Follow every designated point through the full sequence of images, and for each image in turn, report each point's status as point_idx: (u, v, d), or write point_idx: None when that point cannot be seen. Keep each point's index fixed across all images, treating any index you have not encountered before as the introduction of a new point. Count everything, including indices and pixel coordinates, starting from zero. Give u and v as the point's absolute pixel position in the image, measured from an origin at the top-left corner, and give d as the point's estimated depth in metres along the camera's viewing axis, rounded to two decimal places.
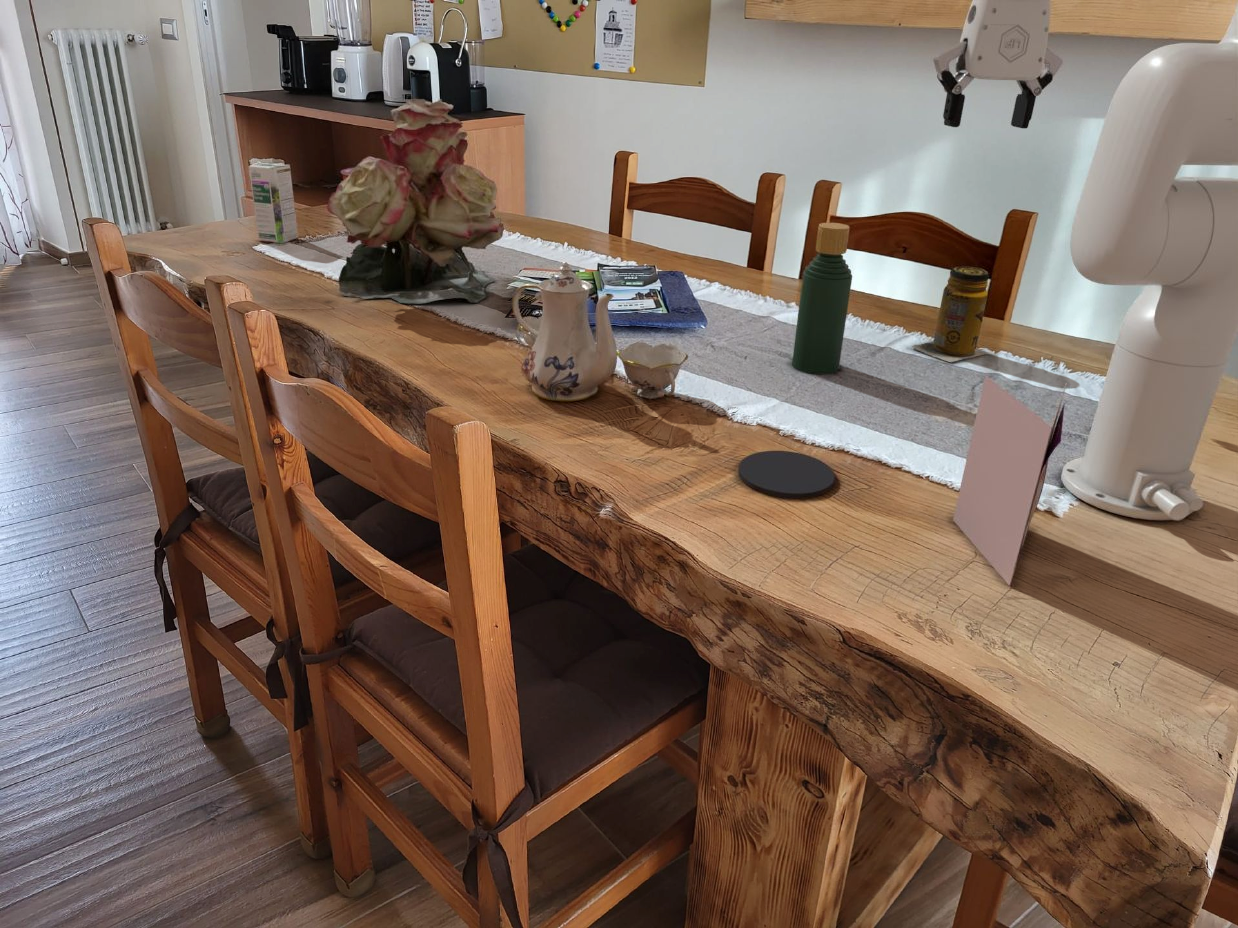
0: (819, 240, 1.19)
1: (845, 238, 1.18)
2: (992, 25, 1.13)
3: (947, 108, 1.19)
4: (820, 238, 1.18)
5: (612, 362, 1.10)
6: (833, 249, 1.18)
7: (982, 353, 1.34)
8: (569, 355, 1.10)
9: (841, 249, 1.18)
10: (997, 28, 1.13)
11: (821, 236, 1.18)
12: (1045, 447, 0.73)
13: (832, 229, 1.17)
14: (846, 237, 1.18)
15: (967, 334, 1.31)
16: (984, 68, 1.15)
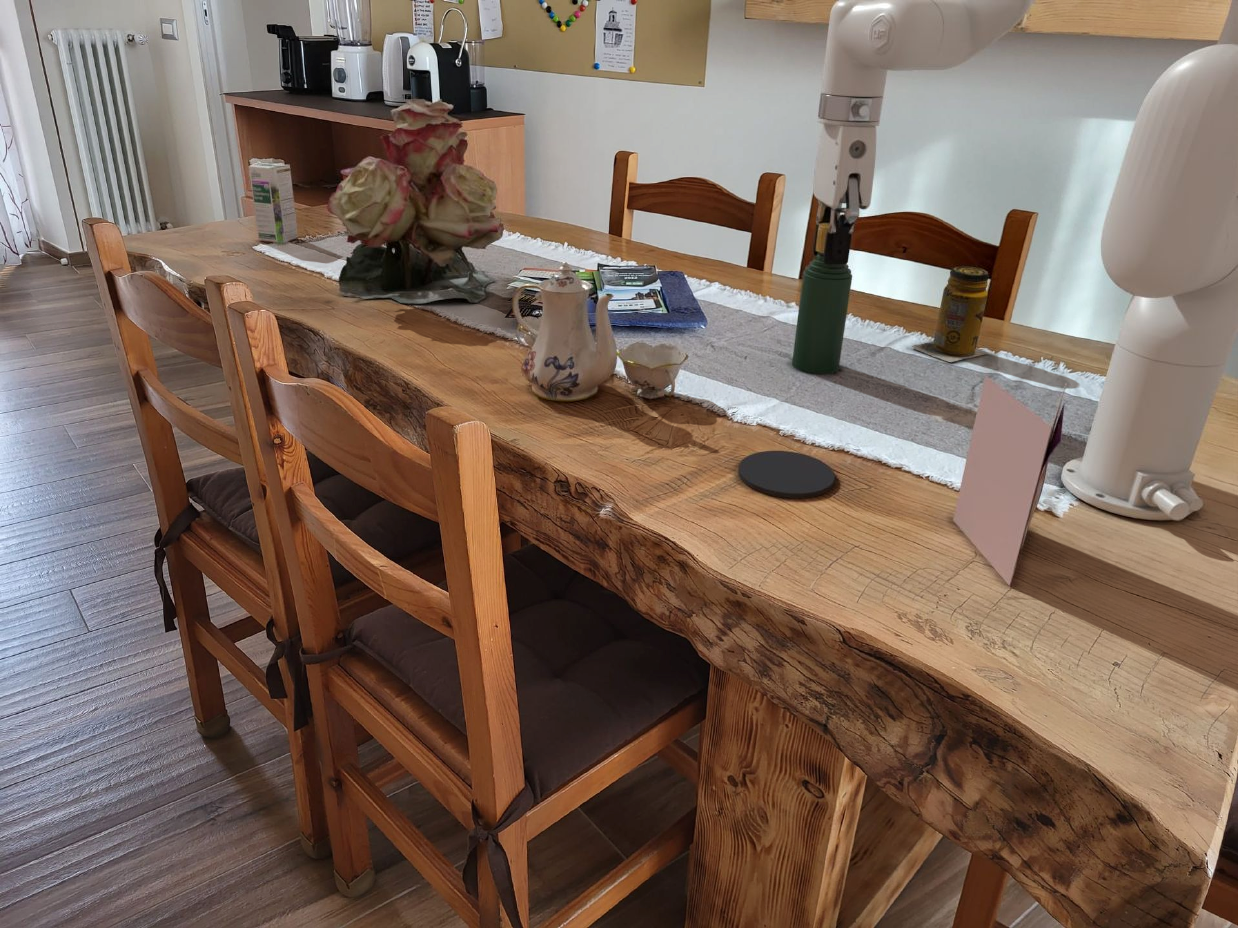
0: (819, 240, 1.19)
1: None
2: None
3: (839, 248, 1.16)
4: (820, 238, 1.18)
5: (612, 362, 1.10)
6: None
7: (982, 353, 1.34)
8: (569, 355, 1.10)
9: None
10: None
11: (821, 236, 1.18)
12: (1045, 447, 0.73)
13: None
14: None
15: (967, 334, 1.31)
16: None
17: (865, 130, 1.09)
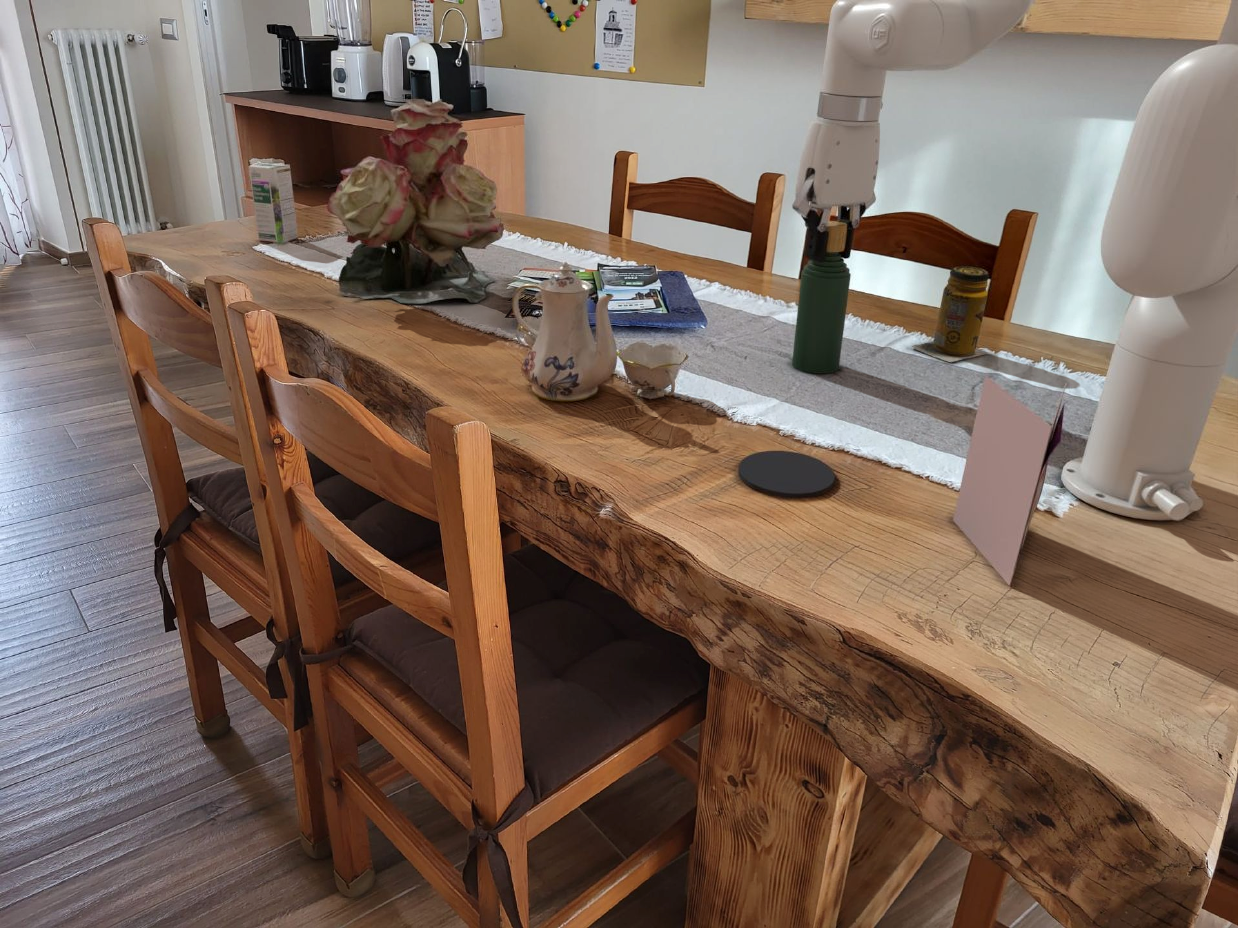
0: (842, 240, 1.18)
1: None
2: None
3: None
4: (844, 236, 1.18)
5: (612, 362, 1.10)
6: None
7: (982, 353, 1.34)
8: (569, 355, 1.10)
9: None
10: None
11: (845, 234, 1.18)
12: (1045, 447, 0.73)
13: (845, 224, 1.19)
14: None
15: (967, 334, 1.31)
16: None
17: None
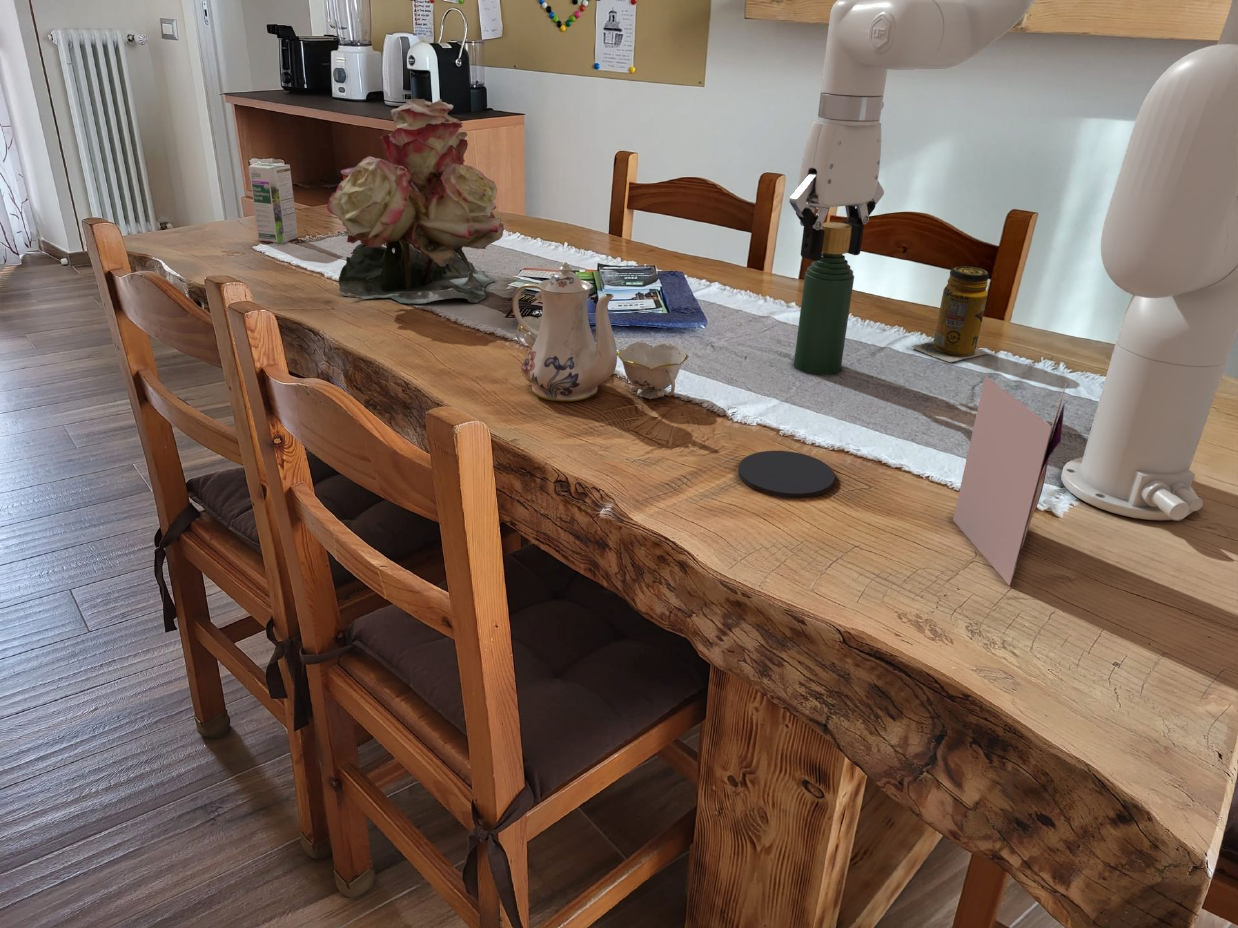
0: (847, 242, 1.18)
1: None
2: None
3: None
4: (848, 238, 1.18)
5: (612, 362, 1.10)
6: None
7: (982, 353, 1.34)
8: (569, 355, 1.10)
9: None
10: None
11: (849, 237, 1.18)
12: (1045, 447, 0.73)
13: None
14: None
15: (967, 334, 1.31)
16: None
17: None
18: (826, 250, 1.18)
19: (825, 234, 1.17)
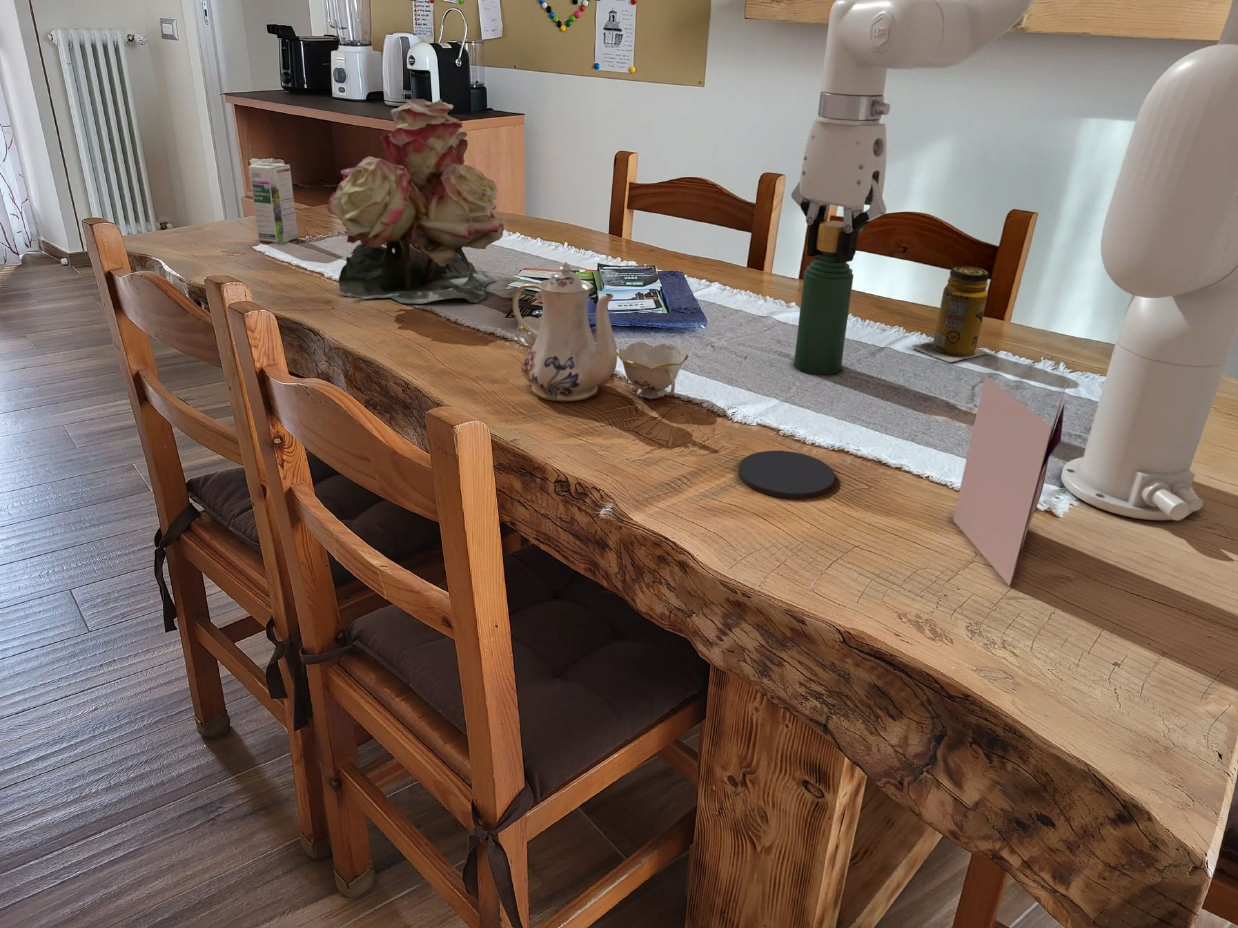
0: None
1: None
2: None
3: (853, 246, 1.17)
4: None
5: (612, 362, 1.10)
6: None
7: (982, 353, 1.34)
8: (569, 355, 1.10)
9: None
10: None
11: None
12: (1045, 447, 0.73)
13: None
14: None
15: (967, 334, 1.31)
16: None
17: (882, 128, 1.10)
18: (834, 250, 1.18)
19: (833, 234, 1.17)
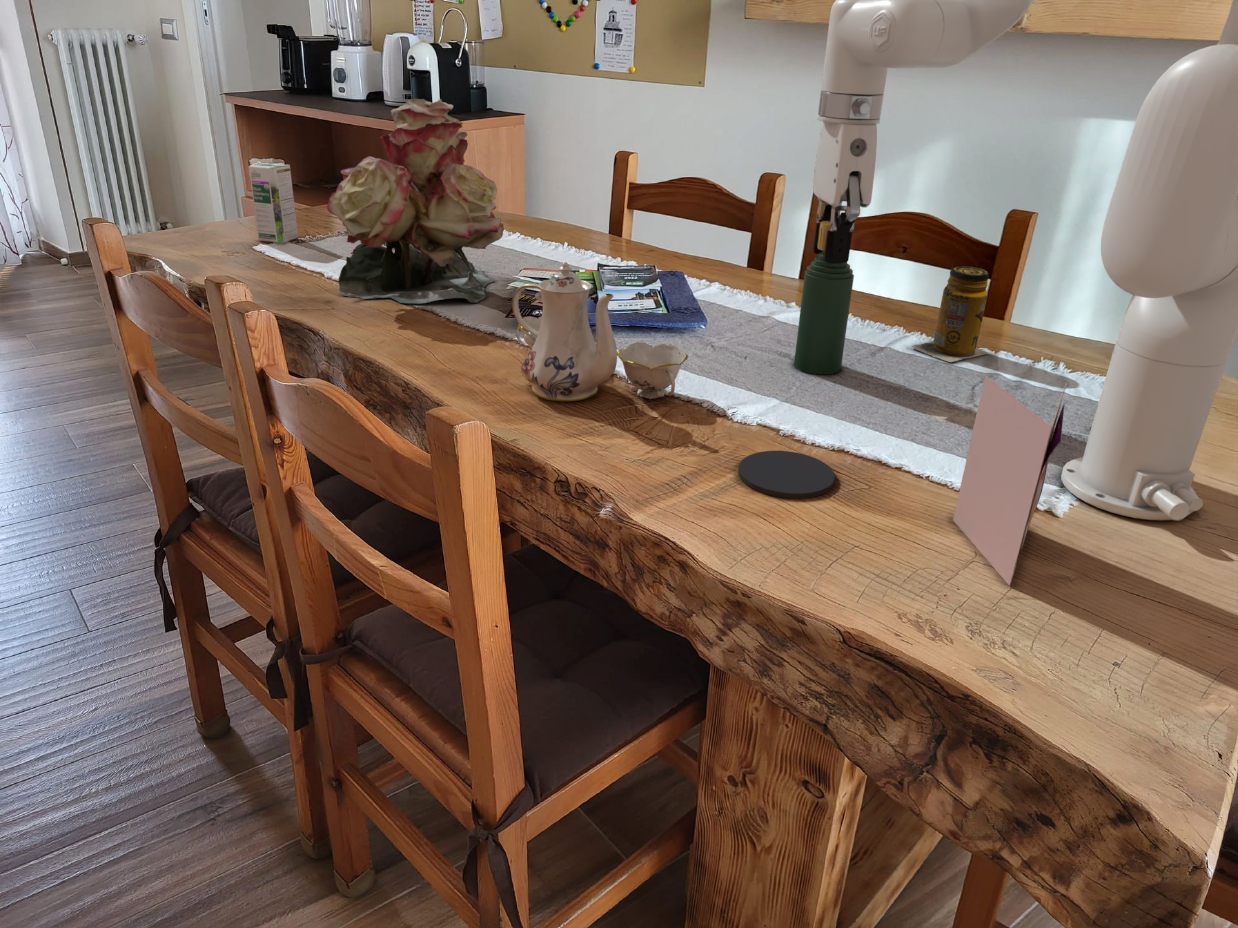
0: None
1: (820, 233, 1.18)
2: None
3: (840, 246, 1.16)
4: None
5: (612, 362, 1.10)
6: None
7: (982, 353, 1.34)
8: (569, 355, 1.10)
9: (818, 243, 1.19)
10: None
11: None
12: (1045, 447, 0.73)
13: None
14: (821, 233, 1.18)
15: (967, 334, 1.31)
16: None
17: (866, 128, 1.09)
18: None
19: None
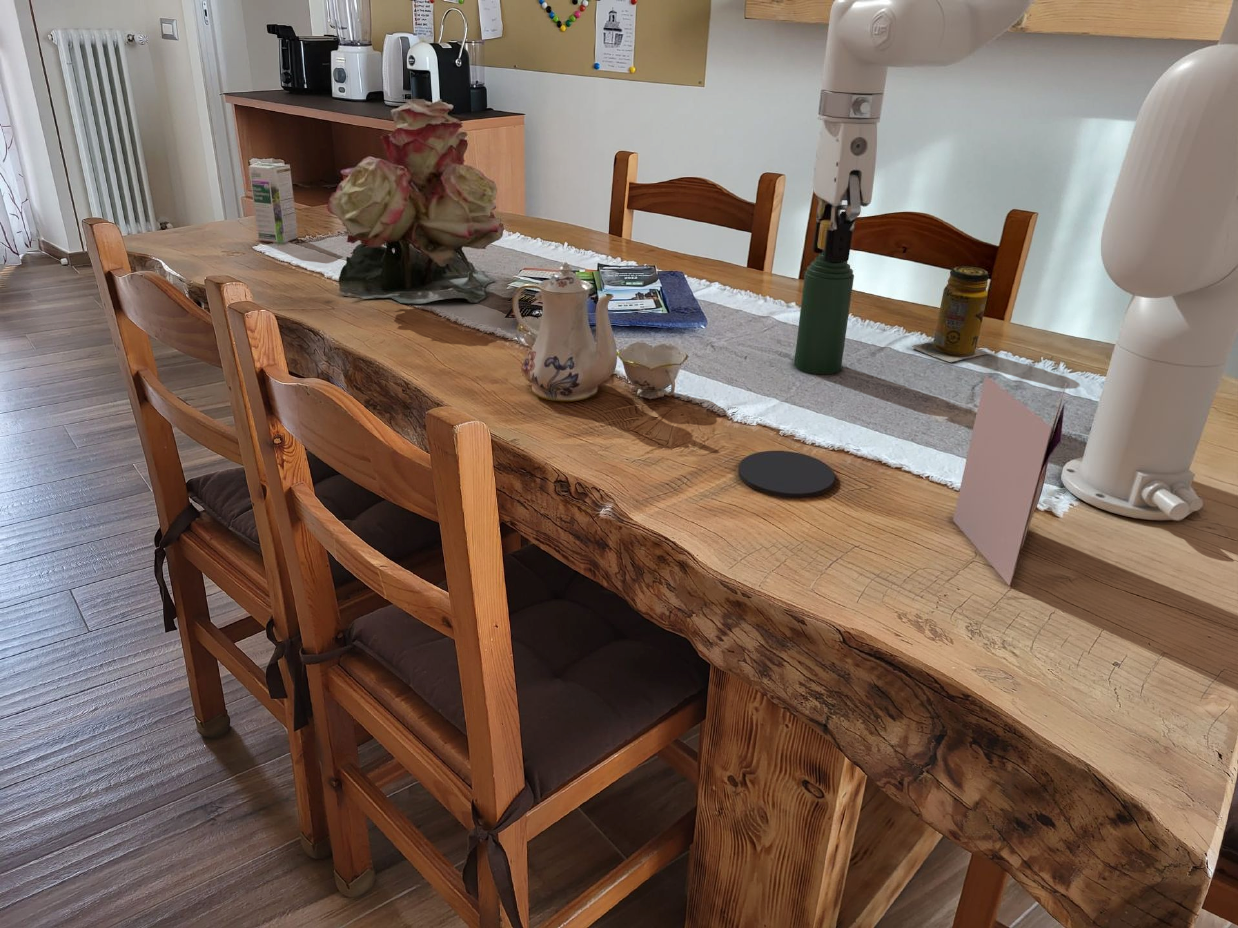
0: (820, 236, 1.19)
1: None
2: None
3: (840, 245, 1.16)
4: (821, 234, 1.18)
5: (612, 362, 1.10)
6: None
7: (982, 353, 1.34)
8: (569, 355, 1.10)
9: None
10: None
11: (822, 232, 1.18)
12: (1045, 447, 0.73)
13: None
14: None
15: (967, 334, 1.31)
16: None
17: (866, 127, 1.09)
18: None
19: None
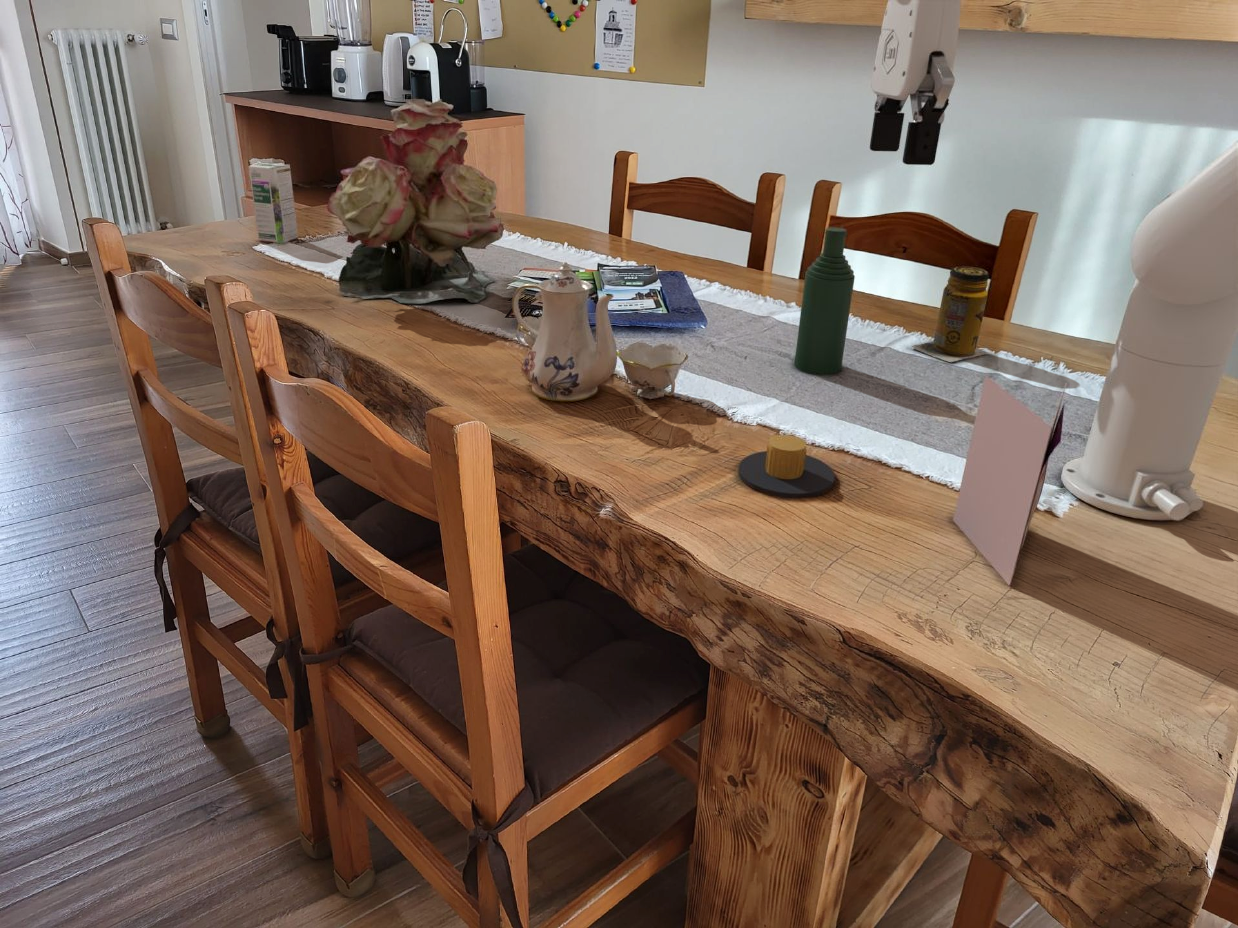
0: None
1: None
2: (883, 30, 0.95)
3: None
4: None
5: (612, 362, 1.10)
6: None
7: (982, 353, 1.34)
8: (569, 355, 1.10)
9: None
10: (884, 34, 0.94)
11: None
12: (1045, 447, 0.73)
13: (792, 436, 0.96)
14: None
15: (967, 334, 1.31)
16: (875, 81, 0.97)
17: None
18: (793, 475, 0.94)
19: (791, 459, 0.93)
